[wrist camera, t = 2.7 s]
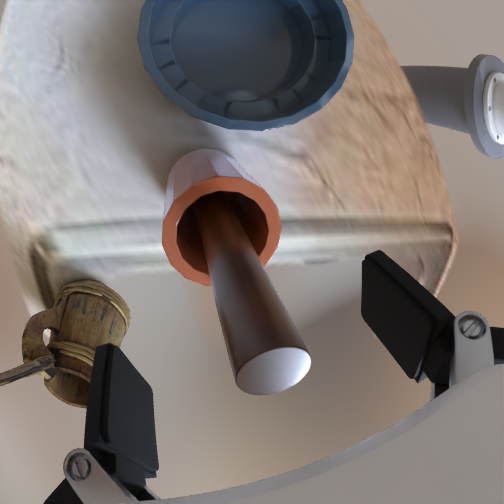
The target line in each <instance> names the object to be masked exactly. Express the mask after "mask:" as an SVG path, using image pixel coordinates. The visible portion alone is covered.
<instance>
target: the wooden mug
mask: <svg viewBox="0 0 504 504" xmlns="http://www.w3.org/2000/svg"><path fill="white" fill-rule="evenodd" d="M129 322H130V311H129V308H128V306H127V304H126V302H125V301H124V300H123V299H122V298H121V297H120V296H119V294H117V293H116V292H115V291H114V290H112V289H111V288H109V287H107V286H106V285H104V284H102V283H99V282H96V281H92V280H79V281H76V282H73V283H70V284H67V285H65V286H63V287H62V288H61V290H60V292H59V293H58V296H57V299H56V301H55V304H54V307H53V308H52V309H49V310H45V311H42V312H39V313H37V314H35V315H33V316H32V317H31V319H30V320H29V321H28V322H27V324H26V327H25V330H24V333H23V336H22V355H23V362H24V364H22V365H20V366H18V367H16V368H13V369H11V370H8V371H5V372H3V373H1V374H0V386H2V385H5V384H8V383H11V382H13V381H16V380H18V379H21V378H23V377H28V376H32V375H35V374H39V375H41V376H42V377H44V382H45V385H46V387H47V389H48V390H49V391H50V392H51V393H52V394H53V395H54V396H55V397H57V398H58V399H59V400H61V401H63V402H65V403H66V404H69V405H72V406H76V407H81V408H87V403H88V394H89V387H90V379H91V373H92V366H93V360H94V354H95V349H96V347H97V346H99V345H103V344H106V343H112V344H113V345H117V346H118V347H119V348H120V346H121V342H122V339H123V337H124V336H125V334H126V332H127V329H128V327H129ZM47 328H48V329H50V330H51V335H50V342H49V344H48V345H47V346H45V344H44V341H43V331H44V330H45V329H47Z"/></svg>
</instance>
